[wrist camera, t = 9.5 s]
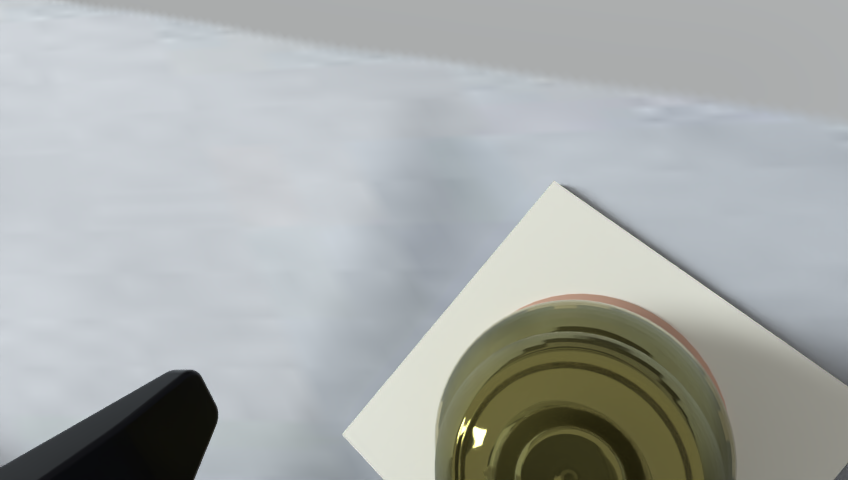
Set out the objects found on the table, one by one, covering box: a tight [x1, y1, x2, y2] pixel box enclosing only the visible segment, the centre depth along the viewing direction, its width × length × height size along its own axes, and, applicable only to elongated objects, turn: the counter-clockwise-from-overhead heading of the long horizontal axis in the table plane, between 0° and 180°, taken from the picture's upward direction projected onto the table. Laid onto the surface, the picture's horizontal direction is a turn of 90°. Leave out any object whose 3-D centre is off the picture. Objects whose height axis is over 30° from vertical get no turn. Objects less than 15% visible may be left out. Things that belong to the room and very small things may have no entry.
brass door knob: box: [435, 300, 737, 480], centre depth 13 cm, size 7×7×10 cm
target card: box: [342, 181, 848, 480], centre depth 18 cm, size 12×12×1 cm
